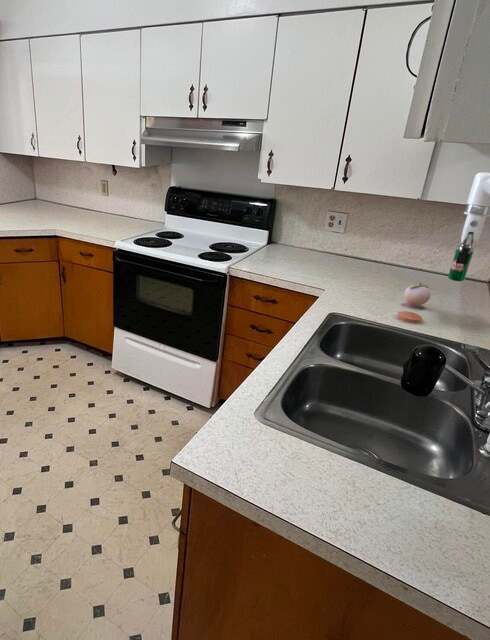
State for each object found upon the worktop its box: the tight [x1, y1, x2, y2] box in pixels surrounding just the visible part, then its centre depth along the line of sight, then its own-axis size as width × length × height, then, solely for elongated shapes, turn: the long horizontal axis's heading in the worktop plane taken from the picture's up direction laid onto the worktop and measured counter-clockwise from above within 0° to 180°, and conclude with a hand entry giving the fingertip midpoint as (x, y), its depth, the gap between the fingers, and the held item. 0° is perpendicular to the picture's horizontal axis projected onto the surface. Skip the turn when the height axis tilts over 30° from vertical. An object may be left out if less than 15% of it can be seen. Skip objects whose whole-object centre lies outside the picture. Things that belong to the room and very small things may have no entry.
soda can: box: [447, 245, 474, 282], centre depth 152 cm, size 5×5×12 cm
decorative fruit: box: [403, 282, 432, 307], centre depth 168 cm, size 9×8×10 cm
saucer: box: [396, 310, 423, 324], centre depth 157 cm, size 8×8×1 cm
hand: (461, 261), depth 151 cm, fingers closed on soda can, 5 cm apart
